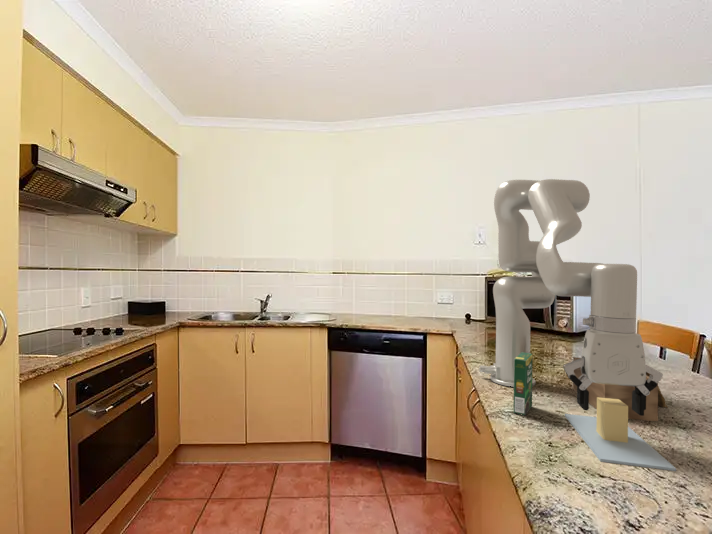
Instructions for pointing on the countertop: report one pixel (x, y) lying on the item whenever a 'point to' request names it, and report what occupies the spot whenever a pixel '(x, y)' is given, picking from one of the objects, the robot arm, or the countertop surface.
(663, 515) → the countertop surface
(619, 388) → the crate
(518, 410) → the coffee box
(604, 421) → the lid
